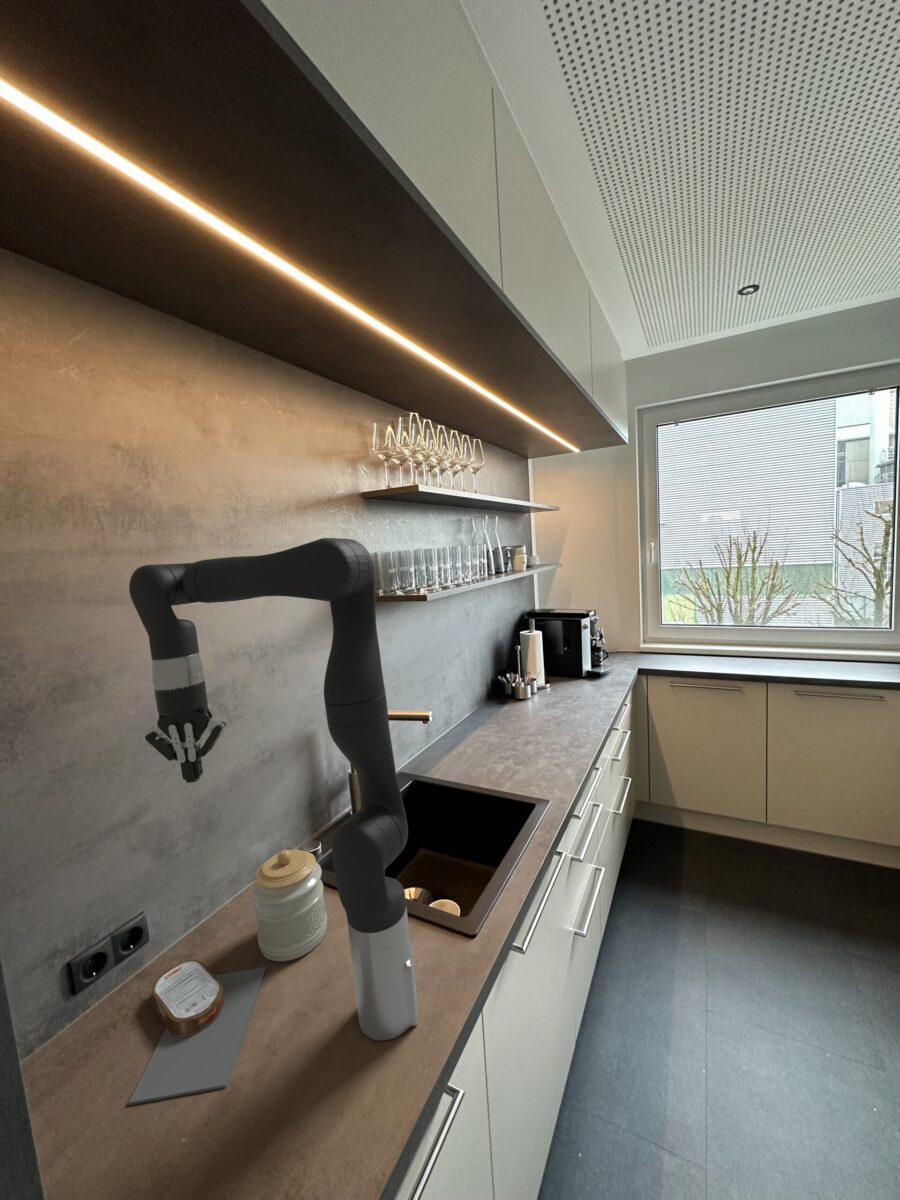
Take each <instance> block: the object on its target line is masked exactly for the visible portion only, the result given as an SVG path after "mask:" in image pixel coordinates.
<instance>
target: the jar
mask: <svg viewBox="0 0 900 1200" xmlns="http://www.w3.org/2000/svg"><path fill="white" fill-rule="evenodd" d="M322 872H323V871H322V868H321V865H320V864H319V863H318V862H317V859H316V857H315V855H314V854H313V853H311V852H309V851H306V850H301V849H283V850H281V851H280V852H278V853H276V854H274V855H273V856H271V857H270V858H268V859H267V860H266V861H264V863H262V864H261V866H259V867H258V869H257V870H256V872H255V875H254V882H253V885H252V887H251V895H252V898H253V899H254V900H255V901H254V904H253V912H254V914H255V919H256V927H257V928H256V929H257V943H258V947H259V949H260V951H261V953H262V955H263V957H264V958H265V959H267V960H270V961H274V962H289V961H293V960H296V959H298V958H301V957H303V956H305V955H307V954H308V953H310V952H311V951H312V950H314V949H315V948H316V947H317V946H318V945H319V944H320V943H321V942H322V940H323V939H324V937H325V935H326V932H327V926H328V913H327V910H326V905H325V896H324V883H323V881H322V880H321V877H322Z"/></svg>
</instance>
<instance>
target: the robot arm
mask: <svg viewBox="0 0 900 1200" xmlns="http://www.w3.org/2000/svg"><path fill="white" fill-rule="evenodd" d="M128 585H129V586H128V587H129V588H128V589H129V590H128V591H129V597H130V600H131V602H132V604H133V606H134V608H135V610H136V612H137V615H138V616H139V618H140V621H141V623H142V625H143V627H144V629H145V631H146V634H147V636H148V640H149V641H148V642H149V648H150V649H149V650H150V656H151V677H152V685H153V689H154V690H153V691H154V697H155V703H156V709H157V710H156V711H157V714H158V719H157V722H156V725H157V726H156V727H155V728H154V729H153V730H152V731H150V732H148V734H147V733H146V735H145V736H144V739H145V741H146V742H147V743H149V744H150V746H152V747H153V748H154V749H155V750H156V751H158V752H159V754H161V755H162V756H163V757H164V758H165V759H166V760H167V761H171V762H172V761H173V760H174V761H177V762H179V764H180V769H181V777H182V779H183V780H184V781H185V782H186V784H190V783H191V784H192V783H197V782H198V781H199V780H200V778H201V777H202V775H203V773H204V770H203V761H202V758H203V757H205V756H206V755H208V754H209V752H210V751H212V750H213V748H214V746H215V745H216V742H217V741H218V740H219V738H220V737H221V735H222V733H223V732H224V731H225V729H226V727H227V723H226V722H225V721H218V720H217V719H214V718H213V714H212V712H211V711H210V709H209V705H208V704H209V701H208V693H207V687H206V681H205V680H206V679H205V673H204V672H205V670H204V666H203V661H202V659H201V654H200V648H199V641H198V633H197V628H196V625H195V623H194V622H193V621H192V620H189V619H184V618H183V619H182V618H178V617H177V615H176V613H175V612H174V610H173V608H172V606H180V605H186V604H189V605H190V604H194V603H195V604H196V603H205V604H213V603H227V602H237V601H244V600H250V599H255V598H256V599H258V598H264V597H290V598H299V599H307V600H313V601H314V600H315V601H323V602H329V607H330V613H331V619H332V620H331V621H332V642H331V646H330V650H329V651H330V652H329V655H328V659H327V660H328V661H327V665H326V668H325V669H326V670H325V675H324V681H323V682H324V684H323V698H324V699H323V700H324V701H323V702H324V707H325V713H326V714H325V715H326V722H327V728H328V733H329V734H330V737H331V739H332V741H333V742H334V744H335V745H336V747H337V748H338V750H339V751H340V752H341V753H342V754H343V756H344V757H345V758H346V759H347V760H348V762H349V763H350V764H351V766H352V768H353V769H354V770H355V773H356V777H357V781H358V786H359V791H360V792H359V795H360V809H358V810H357V811H356V812H355V813H353V814H352V815H351V816H350V817H349V818H348V819H346V820H345V821H344V822H342V823H341V824H340V825H339V826H338V827H337V828H336V829H335V831H334V833H333V836H332V840H331V854H332V855H331V856H332V863H333V869H334V875H335V879H336V880H335V881H336V887H337V892H338V897H339V900H340V902H341V903H340V904H341V905H342V907H343V909H344V911H345V915H346V921H347V929H348V930H347V931H348V937H349V939H348V941H349V947H350V948H349V949H350V955H351V965H352V973H353V981H354V982H353V983H354V992H355V1000H356V1010H357V1011H356V1012H357V1017H358V1024H359V1027H360V1029H361V1031H362V1033H363V1034H364V1035H365V1036H366V1037H368V1038H369V1039H371V1040H374V1041H389V1040H392V1039H396V1038H397V1037H399V1036H401V1035H402V1034H404V1033H405V1032H406V1031H407V1030H409V1029H410V1028H411V1027H416V1026H417V1025H418V999H417V997H418V995H417V992H418V991H417V983H416V972H415V963H414V954H413V947H412V946H413V945H412V939H411V938H410V928H409V919H408V918H409V917H408V910H407V909H408V908H407V899H406V892H405V889H404V887H403V884H401V882H400V881H398V880H397V879H395V878H392V877H390V876H386V874H385V872H386V869H387V868H388V867H389V866H390V865H391V864H392V863H393V862H394V861H395V860H396V859H397V858H398V857H399V856H400V854H401V853H402V852H403V851H404V849H405V847H406V845H407V842H408V839H409V838H408V837H409V825H408V819H407V814H406V810H405V806H404V802H403V797H402V792H401V789H400V785H399V780H398V775H397V771H396V763H395V759H394V758H395V757H394V752H393V751H394V750H393V745H392V737H391V731H390V722H389V720H390V719H389V709H388V702H387V696H386V687H385V682H384V681H385V680H384V675H383V667H382V659H381V651H380V644H379V637H378V629H377V616H376V615H377V614H376V613H377V611H376V576H375V566H374V561H373V557H372V556H371V554H370V552H369V550H368V549H367V548H366V547H365V545H363V544H362V543H360V542H359V541H357V540H355V539H354V540H353V539H350V538H338V537H337V538H335V537H323V538H320V539H316V540H313V541H310V542H307V543H304V544H300V545H297V546H295V547H291V548H288V549H284V550H281V551H277V552H273V553H268V554H267V553H266V554H261V555H248V556H247V555H244V556H241V555H240V556H228V557H226V556H225V557H217V558H207V559H202V560H197V561H194V562H187V563H165V564H164V563H163V564H162V563H161V564H146V565H142V566H140V567H139V566H138V567H137V568H136V569H135V570H134V571H133V572H132V575H131V576H130V580H129V584H128ZM207 728H208V730H207ZM206 730H207V731H208V733H209V736H208V737H207V738H206V739H205V741H204V744H203V745H202V741H203V735H204V733H205V732H206Z"/></svg>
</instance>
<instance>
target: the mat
mask: <svg viewBox="0 0 900 1200" xmlns="http://www.w3.org/2000/svg"><path fill="white" fill-rule="evenodd" d="M266 971H267V967H266V966H264V967H263V966H262V967H257V968H256V967H255V968H250V969H245V970H243V969H242V970H237V971H233V972H226V973H220V974H213V975H214V976H215V977H216V978H217V979H218V980H219V981H220V983H221V984H222V988H223V994H224V997H225V1003H224V1007H223V1009H222V1011H221V1013H220V1014H219V1016H218V1017H217V1018H216V1019H215V1020H214V1021H213V1022H212V1023H211V1024H210V1025H209V1026H208V1027H206V1028H205V1029H203V1030H202V1031H200V1032H198V1033H196V1034H193V1035H190V1036H186V1037H177V1036H174V1035H172V1034H171V1033H170V1032H169V1030H168V1029H167V1027H165V1029H164V1031H163V1034H162V1036H161V1037H160V1040H159V1041H158V1043H157V1045H156V1047H155V1049H154V1052H153V1053H152V1055H151V1057H150V1059H149V1061H148V1063H147V1065H146V1067H145V1069H144V1071H143V1073H142V1075H141V1077H140V1079H139V1081H138V1082H137V1085H136V1086H135V1088H134V1090H133V1093H132V1094H131V1097H130V1098H129V1100H128V1102H127V1103H128V1106H133V1105H137V1104H143V1103H147V1102H153V1101H159V1100H163V1099H169V1098H175V1097H180V1096H186V1095H191V1094H197V1093H202V1092H208V1091H212V1090H218V1089H219V1090H220V1089H224V1088H225V1089H226V1088H227V1086H228V1084H229V1079H230V1077H231V1075H232V1074H231V1073H232V1071H233V1068H234V1065H235V1062H236V1059H237V1056H238V1053H239V1051H240V1046H241V1044H242V1040H243V1038H244V1035H245V1032H246V1030H247V1027H248V1023H249V1020H250V1018H251V1014H252V1011H253V1009H254V1006H255V1003H256V1000H257V996H258V994H259V991H260V988H261V985H262V982H263V979H264V976H265V974H266Z"/></svg>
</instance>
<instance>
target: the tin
mask: <svg viewBox="0 0 900 1200" xmlns="http://www.w3.org/2000/svg"><path fill="white" fill-rule="evenodd" d="M214 975H215V974H213V973H212V972H211V970H210V969H209V968H208V967H207V966H206V965H205V964H204V963H203V962H202V961H201V960H198V959H188V960H184V961H181V962H179V963H177V964H176V965H174V966H172V967H170V968H169V969H167V971H165V972H163V974H161V975H160V976H159V977H158V978H157V979H156V981H155V982H154V984H153V986H152V990H151V997H152V1007H153V1010H154V1011H155V1013H156V1014H157V1016H158V1017H159V1018H160V1020H161V1021H162V1022H163V1024H164V1026H165V1028H167V1029H168V1030H169V1032H170V1033H171V1034H172V1035H174V1036H177V1037H186V1036H190V1035H193V1034H196V1033H198V1032H200V1031H202V1030H203V1029H205V1028H206V1027H208V1026H209V1025H210V1024H211V1023H212V1022H213V1021H214V1020H215V1019H216V1018H217V1017H218V1016H219V1014H220V1013H221V1011H222V1009H223V1007H224V1003H225V997H224V994H223V988H222V984H221V983H220V981H219V980H218V979H217V978H216V977H215V976H214Z"/></svg>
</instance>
